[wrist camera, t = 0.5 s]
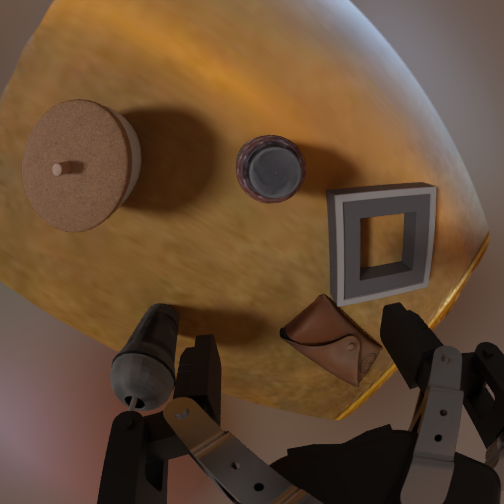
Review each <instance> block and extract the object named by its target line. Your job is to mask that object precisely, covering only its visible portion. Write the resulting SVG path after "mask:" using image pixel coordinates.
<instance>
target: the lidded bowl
mask: <svg viewBox="0 0 504 504" xmlns="http://www.w3.org/2000/svg"><path fill="white" fill-rule="evenodd" d="M141 161H142V155H141V147H140V142H139V139H138V136H137V134H136V132H135V130H134V129H133V127H132V126H131V124H130V123H129V122H128V121H127V120H126V119H125V118H124V117H123V116H122V115H121V114H120V113H118V112H116V111H115V110H113V109H111V108H109V107H106V106H103V105H101V104H99V103H96V102H93V101H89V100H81V99H76V100H69V101H66V102H62V103H60V104H58V105H56V106H54V107H53V108H51V109H50V110H49V111H47V112H46V113H45V114H44V115H43V116H42V117H41V118H40V119H39V121H38V122H37V123H36V125H35V126H34V128H33V129H32V131H31V133H30V135H29V138H28V140H27V143H26V145H25V150H24V154H23V161H22V175H23V183H24V187H25V191H26V194H27V197H28V199H29V201H30V203H31V205H32V207H33V208H34V210H35V211H36V212H37V214H38V215H39V216H40V217H41V218H42V219H43V220H44V221H45V222H47V223H48V224H50V225H51V226H53V227H55V228H57V229H59V230H62V231H66V232H83V231H86V230H90V229H92V228H94V227H96V226H98V225H100V224H101V223H102V222H104V221H105V220H106V219H108V218H109V217H110V216H111V215H112V214H113V213H114V212H115V211H116V210H117V209H118V208H119V207H120V206H121V205H122V204H123V203H124V202H125V201H126V200H127V198H128V197H129V195H130V194H131V193H132V191H133V189H134V187H135V185H136V183H137V180H138V177H139V174H140V170H141Z"/></svg>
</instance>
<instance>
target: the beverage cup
mask: <svg viewBox="0 0 504 504" xmlns="http://www.w3.org/2000/svg"><path fill="white" fill-rule="evenodd" d="M177 333H178V315H177V313H176V311H175V310H174V309H173V308H172V307H170V306H168V305H166V304H160V303H159V304H154V305H152V306H151V307H150V308H149V309H148V311H147V312H146V313H145V315H144V316H143V318H142V319H141V321H140V323H139V324H138V326H137V327H136V329H135V331H134V332H133V334H132V336H131V337H130V339H129V340H128V342H127V344H126V345H125V347H124V348H123V349H122V350H121V351H120V352H119V354H117V356H116V357H115V358H114V359H113V362H112V367H111V374H110V380H111V384H112V388H113V391H114V393H115V395H116V396H117V397H118V399H119V400H120V401H121V402H122V403H123V404H124V405H126V406H128V407H129V410H128V411H134V410H139V411H149V410H153V409H156V408H158V407H160V406H161V405H162V404H164V403H165V402H166V401H167V400H168V398H169V396H170V394H171V392H172V390H173V389H174V387H175V384H176V379H175V368H174V361H175V351H176V342H177Z"/></svg>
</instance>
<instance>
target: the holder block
mask: <svg viewBox="0 0 504 504" xmlns="http://www.w3.org/2000/svg"><path fill="white" fill-rule="evenodd" d="M326 194H327V210H328V228H329V252H330V294H331V296H332V298H333V300H334V301H335V303H336V305H337V307H339V306H345V305H350V304H355V303H359V302H364V301H369V300H374V299H378V298H383V297H387V296H392V295H396V294H400V293H404V292H409V291H413V290H417V289H421V288H425V287H428V283H429V276H430V269H431V261H432V252H433V242H434V230H435V215H436V187H435V186H432V185H429V184H426V183H423V182H418V183H402V184H389V185H376V186H364V187H353V188H343V189H333V190H326ZM400 213H404V239H403V255H402V261H401V262H396V263H391V264H385V265H380V266H374V267H369V268H363V269H360V218H367V217H375V216H383V215H392V214H400Z"/></svg>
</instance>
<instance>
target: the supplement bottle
mask: <svg viewBox="0 0 504 504" xmlns="http://www.w3.org/2000/svg"><path fill="white" fill-rule="evenodd" d="M305 173H306V165H305V161H304V157H303V155H302V153H301V151H300V150H299V148H298V147H297V146H296V145H295V144H294V143H292V142H291V141H290V140H288V139H286V138H283V137H281V136H275V135H266V136H260V137H257V138H254V139H252V140H250V141H249V142H247V143H246V144H245V145H244V146H243V147H242V148H241V150H240V152H239V154H238V157H237V161H236V174H237V178H238V181H239V184H240V186H241V187H242V189H243V190H244V191H245V192H246V193H247V194H248V195H249V196H250V197H252V198H253V199H255V200H257V201H260V202H263V203H279V202H282V201H285V200H287V199H289V198H291V197H292V196H293V195H294V194H296V192H297V191H298V190H299V189H300V187H301V185H302V184H303V181H304V178H305Z"/></svg>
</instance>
